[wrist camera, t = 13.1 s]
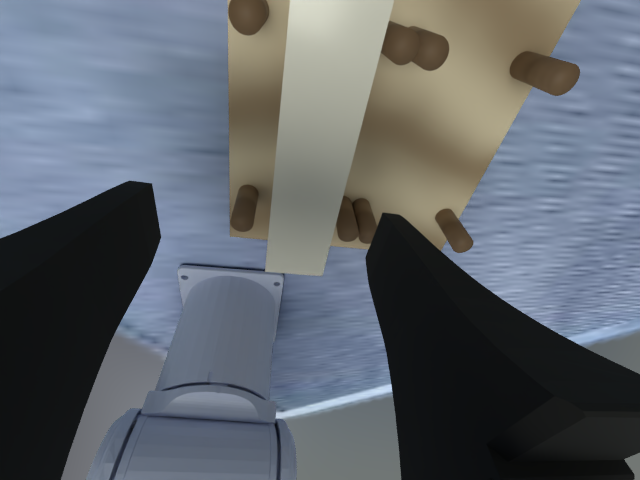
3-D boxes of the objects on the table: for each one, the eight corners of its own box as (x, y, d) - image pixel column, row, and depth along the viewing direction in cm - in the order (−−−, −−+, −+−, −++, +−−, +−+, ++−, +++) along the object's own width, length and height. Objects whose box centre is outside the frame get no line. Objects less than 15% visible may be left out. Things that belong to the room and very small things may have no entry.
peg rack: (432, 245, 24) (453, 286, 21) (232, 225, 21) (221, 268, 18) (574, -23, 14) (658, -24, 11) (232, -114, 12) (207, -152, 8)
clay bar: (317, 220, 20) (322, 276, 16) (270, 215, 20) (264, 271, 16) (366, -14, 13) (397, -13, 9) (294, -31, 12) (293, -38, 8)
